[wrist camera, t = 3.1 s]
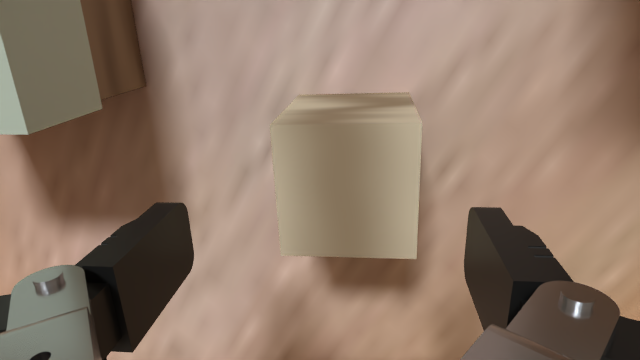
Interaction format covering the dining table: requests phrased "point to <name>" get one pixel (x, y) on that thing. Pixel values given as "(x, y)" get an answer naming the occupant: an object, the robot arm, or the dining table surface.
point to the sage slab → (44, 65)
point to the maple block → (348, 175)
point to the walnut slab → (113, 46)
